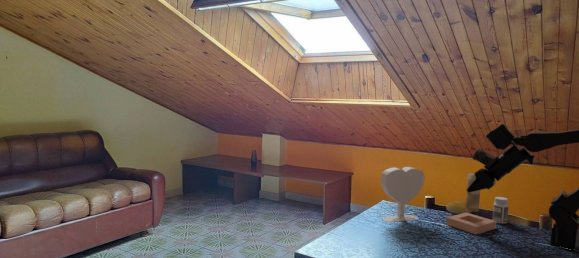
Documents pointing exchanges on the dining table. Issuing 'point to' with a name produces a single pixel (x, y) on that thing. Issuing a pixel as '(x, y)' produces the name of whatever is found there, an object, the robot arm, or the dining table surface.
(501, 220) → the pill bottle
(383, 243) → the dining table surface
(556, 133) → the robot arm
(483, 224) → the socket collar
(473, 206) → the beech peg
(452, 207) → the bread roll
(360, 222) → the dining table surface
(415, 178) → the heart sculpture
